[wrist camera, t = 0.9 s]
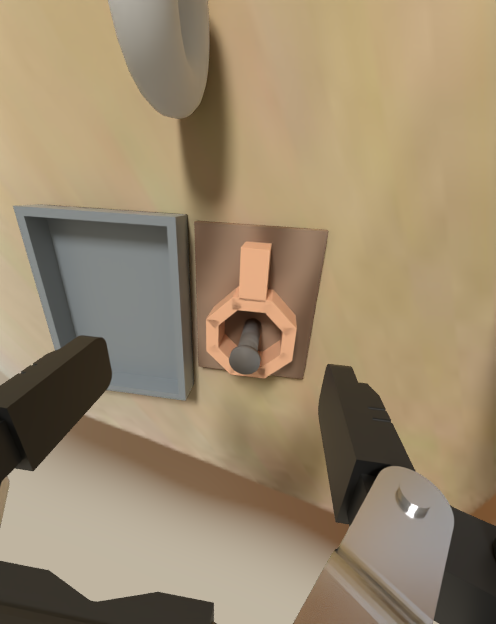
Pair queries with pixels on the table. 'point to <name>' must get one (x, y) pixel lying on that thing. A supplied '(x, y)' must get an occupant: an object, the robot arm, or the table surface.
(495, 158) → the table surface
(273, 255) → the panel
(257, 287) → the ring
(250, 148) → the table surface
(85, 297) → the tray
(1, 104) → the table surface
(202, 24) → the donut
